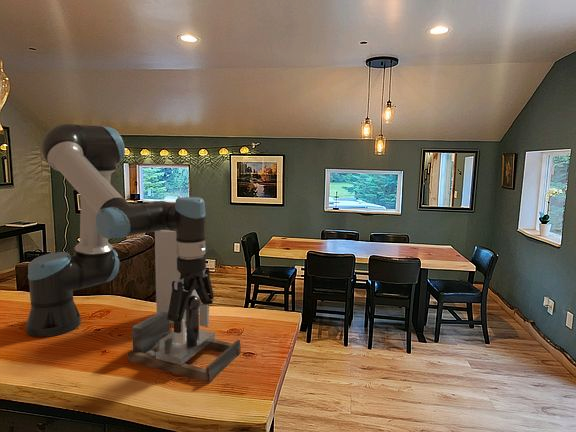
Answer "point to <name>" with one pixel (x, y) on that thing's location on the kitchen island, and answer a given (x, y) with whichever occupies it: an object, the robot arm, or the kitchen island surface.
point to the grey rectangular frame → (145, 340)
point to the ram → (193, 337)
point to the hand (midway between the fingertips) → (192, 334)
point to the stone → (156, 346)
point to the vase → (166, 269)
